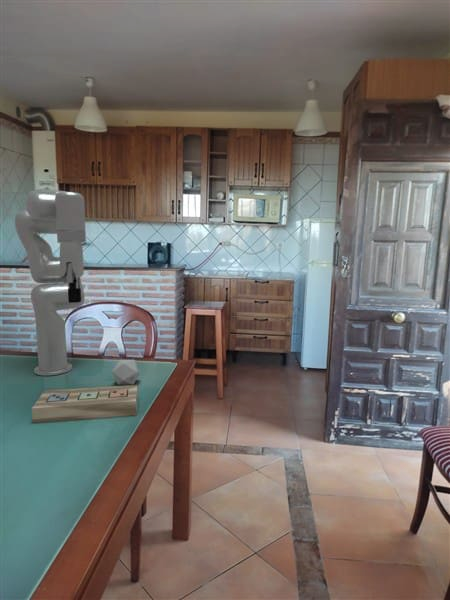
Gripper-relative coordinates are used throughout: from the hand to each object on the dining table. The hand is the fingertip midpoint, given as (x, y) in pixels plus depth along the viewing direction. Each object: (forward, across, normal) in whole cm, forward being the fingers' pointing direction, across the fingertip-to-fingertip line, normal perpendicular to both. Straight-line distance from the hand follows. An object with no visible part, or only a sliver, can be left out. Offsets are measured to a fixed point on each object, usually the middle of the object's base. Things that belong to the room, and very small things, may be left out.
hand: (74, 301), depth 110 cm
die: (+29, -10, +13) cm, 34 cm away
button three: (+28, +9, -4) cm, 30 cm away
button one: (+28, +9, +4) cm, 30 cm away
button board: (+29, +9, +4) cm, 31 cm away
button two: (+28, +9, +12) cm, 32 cm away
